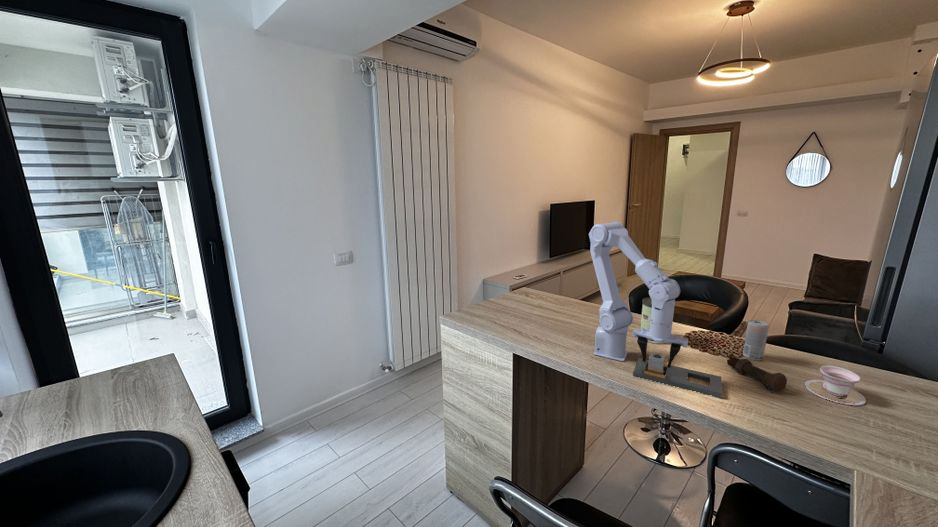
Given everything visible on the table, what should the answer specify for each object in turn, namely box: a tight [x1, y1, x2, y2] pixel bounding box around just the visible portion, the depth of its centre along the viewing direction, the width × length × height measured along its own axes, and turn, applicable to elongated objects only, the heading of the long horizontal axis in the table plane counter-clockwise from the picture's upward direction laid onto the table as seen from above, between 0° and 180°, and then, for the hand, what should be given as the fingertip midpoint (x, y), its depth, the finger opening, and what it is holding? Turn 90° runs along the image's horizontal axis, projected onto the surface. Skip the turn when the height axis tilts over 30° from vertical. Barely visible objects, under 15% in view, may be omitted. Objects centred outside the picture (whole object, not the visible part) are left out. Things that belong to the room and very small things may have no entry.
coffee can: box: [639, 296, 666, 345], centre depth 135 cm, size 10×10×14 cm
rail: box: [632, 357, 723, 399], centre depth 109 cm, size 22×10×2 cm, turn 57°
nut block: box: [647, 351, 666, 375], centre depth 111 cm, size 4×4×6 cm
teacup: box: [804, 365, 867, 407], centre depth 100 cm, size 12×12×6 cm
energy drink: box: [742, 319, 770, 362], centre depth 120 cm, size 5×5×12 cm
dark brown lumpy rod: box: [726, 356, 788, 393], centre depth 108 cm, size 6×5×15 cm
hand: (656, 363), depth 111 cm, fingers open, 6 cm apart
